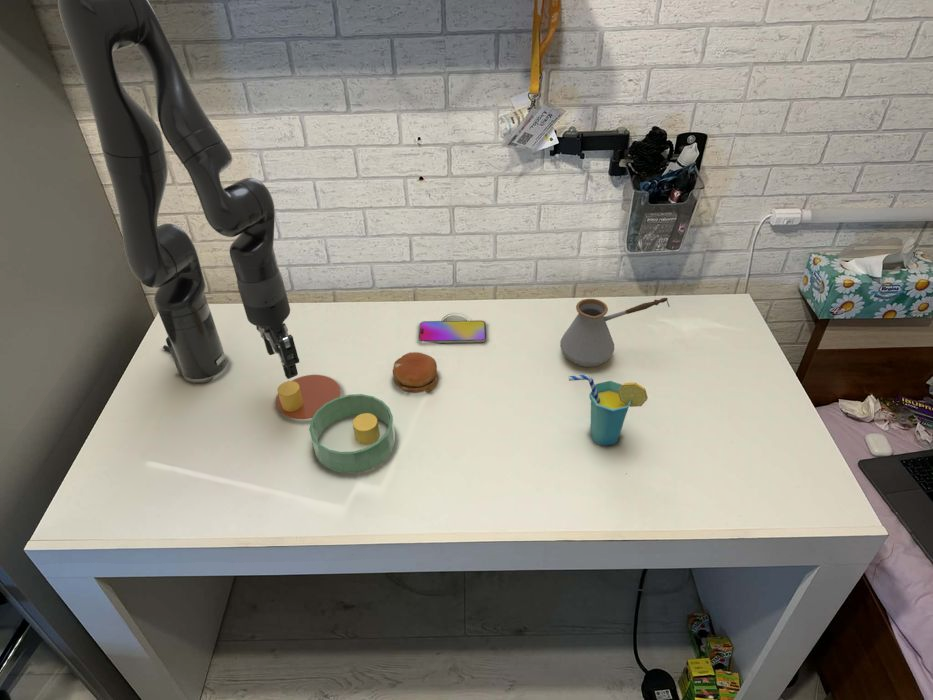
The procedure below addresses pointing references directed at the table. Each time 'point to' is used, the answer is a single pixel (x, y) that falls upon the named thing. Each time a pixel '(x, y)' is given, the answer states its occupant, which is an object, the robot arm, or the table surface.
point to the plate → (312, 395)
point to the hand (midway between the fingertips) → (282, 364)
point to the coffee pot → (593, 332)
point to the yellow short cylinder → (366, 428)
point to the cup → (611, 407)
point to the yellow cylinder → (290, 396)
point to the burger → (415, 372)
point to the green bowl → (359, 458)
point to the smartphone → (452, 331)
